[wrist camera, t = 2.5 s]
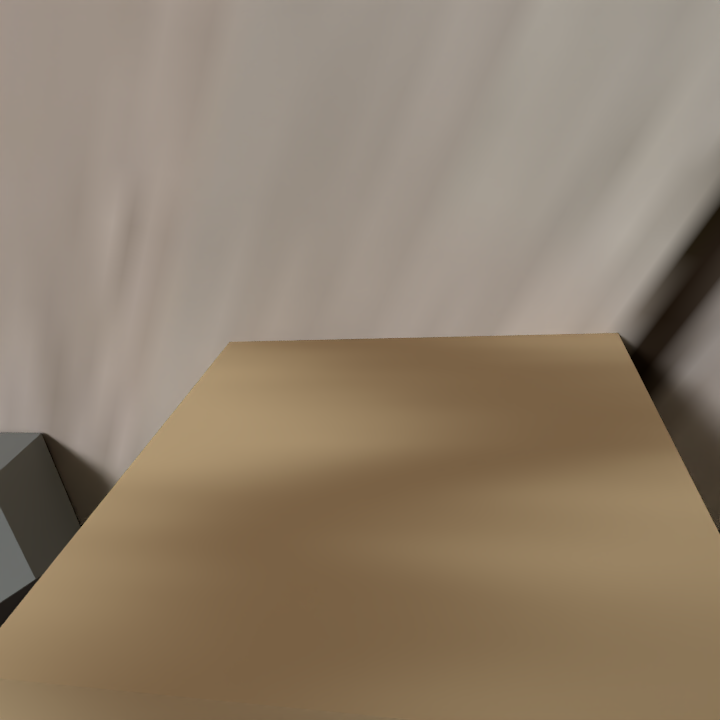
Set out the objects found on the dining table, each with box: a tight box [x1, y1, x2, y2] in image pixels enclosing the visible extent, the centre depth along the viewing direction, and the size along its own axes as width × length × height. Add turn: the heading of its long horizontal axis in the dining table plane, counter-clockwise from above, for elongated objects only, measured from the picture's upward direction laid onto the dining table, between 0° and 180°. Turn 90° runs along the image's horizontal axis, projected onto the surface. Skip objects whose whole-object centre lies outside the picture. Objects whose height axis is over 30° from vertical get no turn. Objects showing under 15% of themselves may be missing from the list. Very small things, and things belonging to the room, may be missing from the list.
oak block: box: [0, 333, 720, 720], centre depth 7 cm, size 5×5×5 cm
